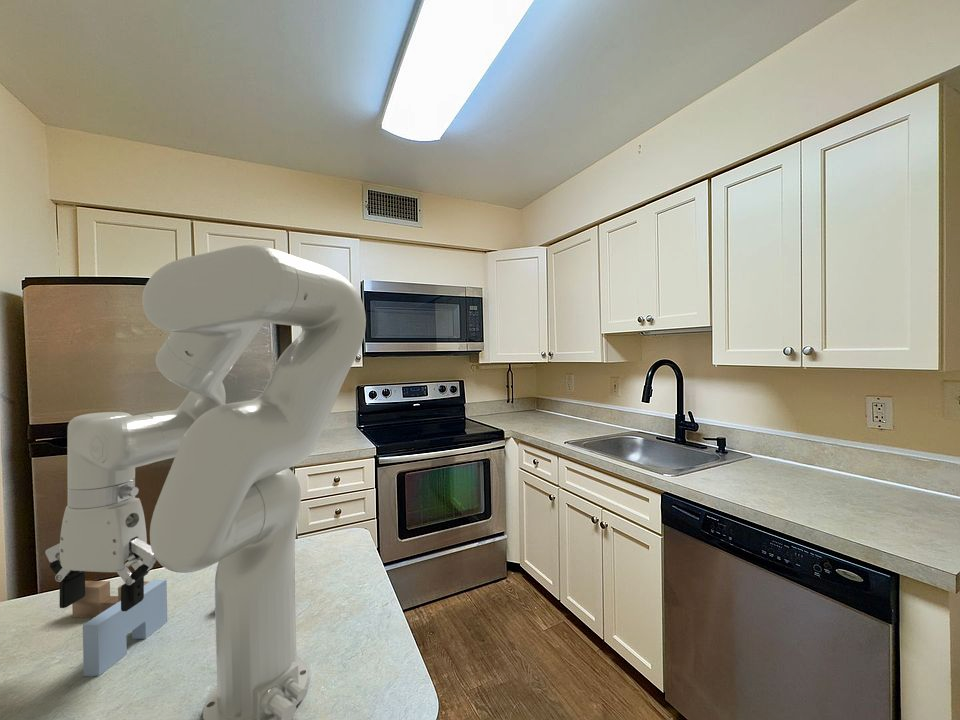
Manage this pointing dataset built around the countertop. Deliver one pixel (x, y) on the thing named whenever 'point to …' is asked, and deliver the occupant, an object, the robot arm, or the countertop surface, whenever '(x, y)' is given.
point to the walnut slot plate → (96, 599)
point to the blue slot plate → (122, 628)
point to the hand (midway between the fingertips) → (102, 604)
